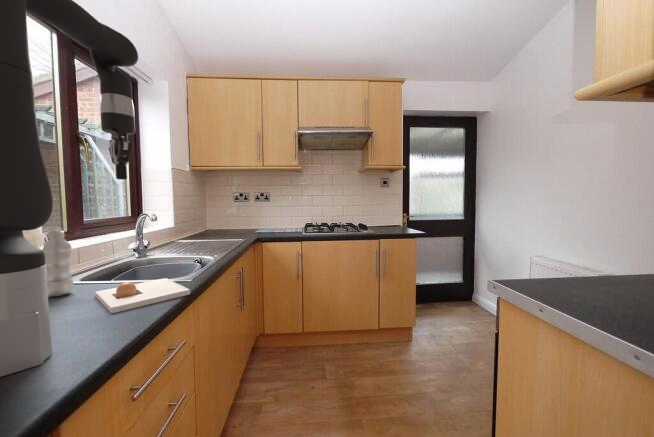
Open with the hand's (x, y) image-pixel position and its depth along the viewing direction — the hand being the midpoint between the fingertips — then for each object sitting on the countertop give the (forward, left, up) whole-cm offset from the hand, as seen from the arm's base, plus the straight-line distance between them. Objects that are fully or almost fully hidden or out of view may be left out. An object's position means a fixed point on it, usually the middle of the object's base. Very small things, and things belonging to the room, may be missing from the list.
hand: (121, 179), depth 80 cm
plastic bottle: (+25, +12, -35) cm, 45 cm away
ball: (+5, -1, -32) cm, 33 cm away
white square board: (+5, -5, -35) cm, 36 cm away
